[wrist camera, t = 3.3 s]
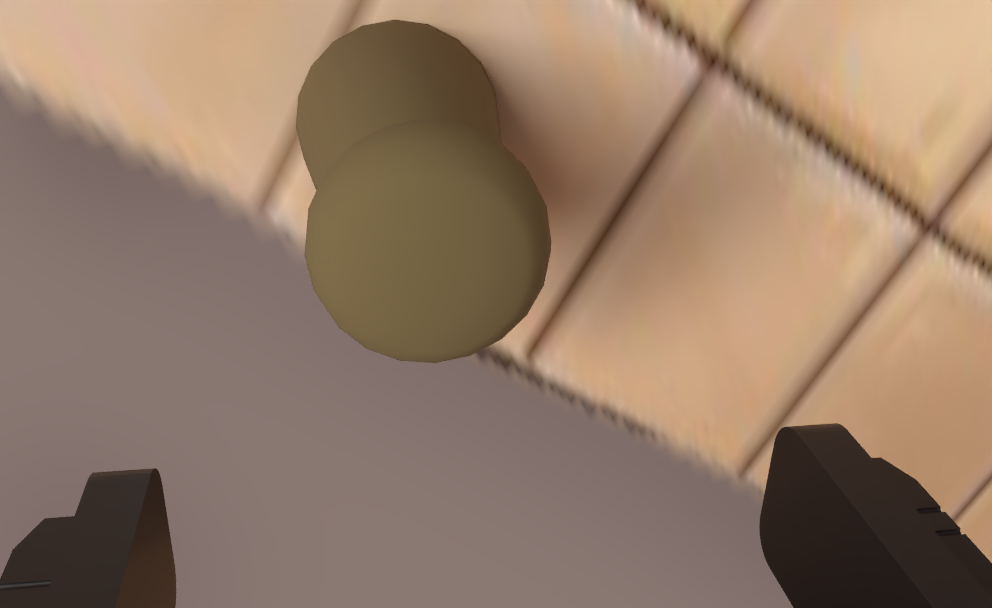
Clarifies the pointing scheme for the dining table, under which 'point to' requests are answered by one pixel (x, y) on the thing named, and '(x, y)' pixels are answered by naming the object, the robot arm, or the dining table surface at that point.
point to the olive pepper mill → (416, 196)
